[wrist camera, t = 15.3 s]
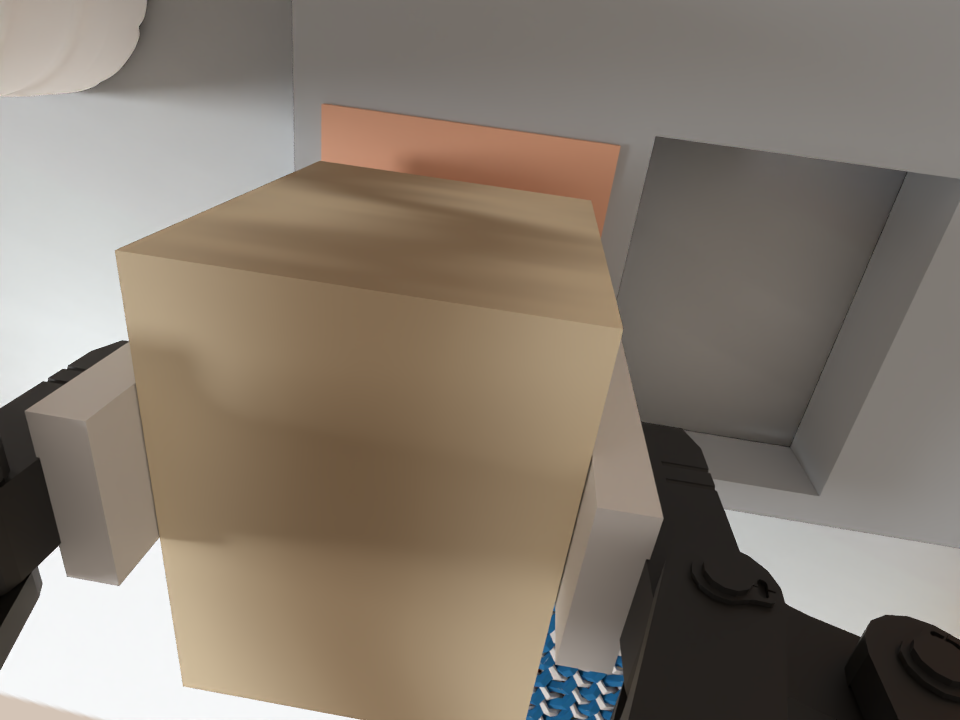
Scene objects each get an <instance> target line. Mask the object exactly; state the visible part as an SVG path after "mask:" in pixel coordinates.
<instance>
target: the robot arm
mask: <svg viewBox="0 0 960 720" xmlns="http://www.w3.org/2000/svg"><path fill="white" fill-rule="evenodd" d="M708 470H709V468H708V465H707V463H706V460H705V457H704V455H703V452H702V449H701V448H700V447H699V446H698V445H697V444H696V443H695V441H694V440H693V439H692V438H691V437H690V436H689V435H688V434H687V433H686V432H685V431H684V430H683V429H681V428H675V427H668V426H662V425H656V424H650V423H644V422H641V420H640V416H639V412H638V408H637V403H636V399H635V395H634V391H633V386H632V382H631V378H630V374H629V369H628V365H627V361H626V357H625V352H624V348H623V344H622V340H621V341H620V345H619V349H618V353H617V357H616V361H615V365H614V369H613V373H612V377H611V381H610V385H609V389H608V393H607V397H606V401H605V405H604V409H603V413H602V417H601V421H600V425H599V429H598V433H597V437H596V441H595V445H594V449H593V453H592V457H591V461H590V465H589V469H588V473H587V477H586V481H585V485H584V489H583V493H582V497H581V501H580V505H579V509H578V513H577V517H576V521H575V525H574V529H573V533H572V537H571V541H570V545H569V549H568V553H567V557H566V561H565V565H564V569H563V573H562V577H561V581H560V585H559V589H558V593H557V597H556V601H555V665H560V666H566V667H572V668H577V669H583V670H588V671H594V672H599V673H605V674H610V675H611V674H612V671H613V669H614V666H615V663H616V660H617V657H618V654H619V651H620V649H621V658H622V667H623V676H624V681H623V684H622V687H621V690H620V692H619V695H618V698H617V701H616V704H615V707H614V710H613V712H612V715H611V718H610V720H960V640H959V639H957V638H955V637H954V636H952V635H950V634H948V633H947V632H945V631H943V630H941V629H939V628H938V627H936V626H934V625H931V624H928V623H925V622H923V621H920V620H917V619H914V618H911V617H908V616H895V615H884V616H882V617H879V618H876V619H874V620H871V621H870V623H869V625H868V626H867V628H866V630H865V631H864V633H863V635H862V636H861V637H859V636H857V635H854V634H852V633H849V632H847V631H845V630H842V629H840V628H837V627H835V626H832V625H830V624H828V623H825V622H823V621H820V620H818V619H815V618H813V617H811V616H808V615H806V614H804V613H802V612H800V611H798V610H796V609H794V608H792V607H790V606H789V605H787V604H786V603H785V601H784V598H783V594H782V591H781V588H780V587H779V585H778V584H777V583H776V581H775V580H774V579H773V577H772V576H771V575H770V573H769V572H768V571H767V570H766V569H765V568H763V567H762V566H761V565H760V564H758V563H757V562H756V561H755V560H753V559H752V558H751V557H749V556H748V555H746V554H743V553H741V552H740V551H739V548H738V546H737V543H736V540H735V538H734V535H733V532H732V530H731V527H730V524H729V522H728V519H727V516H726V514H725V511H724V508H723V506H722V503H721V500H720V498H719V495H718V492H717V491H716V490H715V484H714V481H713V479H712V476H711V473H708ZM159 537H160V535H159V529H158V523H157V516H156V510H155V503H154V497H153V491H152V484H151V478H150V471H149V465H148V459H147V452H146V446H145V439H144V433H143V427H142V420H141V414H140V408H139V401H138V395H137V388H136V382H135V376H134V369H133V363H132V356H131V350H130V344H129V341H123V340H122V341H119V342H116V343H113V344H110V345H108V346H105V347H102V348H99V349H96V350H93V351H91V352H89V353H87V354H86V355H84V356H83V357H81V358H79V359H78V360H76V361H75V362H73V363H71V364H70V365H68V368H67V369H62V370H60V371H59V372H57V373H56V374H54V375H52V376H51V377H49V378H48V382H44V381H43V382H41V383H40V384H38V385H37V386H35V387H33V388H32V389H30V390H29V391H27V392H25V393H24V394H22V395H21V396H19V397H18V398H16V399H14V400H13V401H11V402H10V403H8V404H6V405H5V406H3V407H2V408H0V670H1V668H2V666H3V664H4V662H5V660H6V658H7V657H8V655H9V653H10V651H11V649H12V647H13V645H14V643H15V642H16V640H17V638H18V636H19V634H20V632H21V630H22V628H23V626H24V625H25V623H26V621H27V619H28V617H29V615H30V613H31V611H32V610H33V608H34V606H35V604H36V602H37V600H38V598H39V595H40V591H41V588H42V580H41V577H40V573H39V570H38V565H39V564H40V563H41V562H42V561H43V560H44V559H45V558H46V557H47V556H48V555H49V554H50V553H52V552H53V551H54V550H55V549H56V548H57V547H58V546H59V547H60V551H61V555H62V559H63V563H64V567H65V571H66V574H67V577H73V578H78V579H84V580H89V581H95V582H100V583H106V584H111V585H117V586H120V584H121V583H122V582H123V581H124V579H125V578H126V577H127V576H128V575H129V573H130V572H131V571H132V570H133V569H134V567H135V566H136V565H137V564H138V563H139V561H140V560H141V559H142V558H143V557H144V555H145V554H146V553H147V552H148V550H149V549H150V548H151V547H152V546H153V544H154V543H155V542H156V541H157V540H158V538H159Z"/></svg>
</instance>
